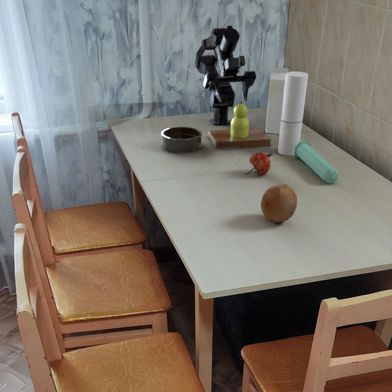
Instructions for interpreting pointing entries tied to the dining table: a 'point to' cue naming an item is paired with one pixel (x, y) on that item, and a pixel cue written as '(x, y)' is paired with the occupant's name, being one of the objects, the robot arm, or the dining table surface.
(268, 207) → the onion
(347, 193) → the dining table surface
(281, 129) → the cylindrical container
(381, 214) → the dining table surface
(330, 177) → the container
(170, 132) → the bowl
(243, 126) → the pear
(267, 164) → the red rounded lumpy piece
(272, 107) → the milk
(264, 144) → the board
